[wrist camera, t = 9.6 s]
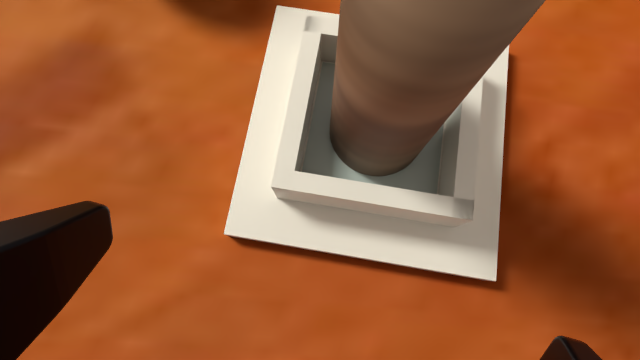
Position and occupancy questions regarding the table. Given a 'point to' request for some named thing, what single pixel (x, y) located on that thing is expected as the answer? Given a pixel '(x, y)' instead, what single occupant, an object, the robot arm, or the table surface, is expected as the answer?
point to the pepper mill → (411, 72)
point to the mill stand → (359, 189)
